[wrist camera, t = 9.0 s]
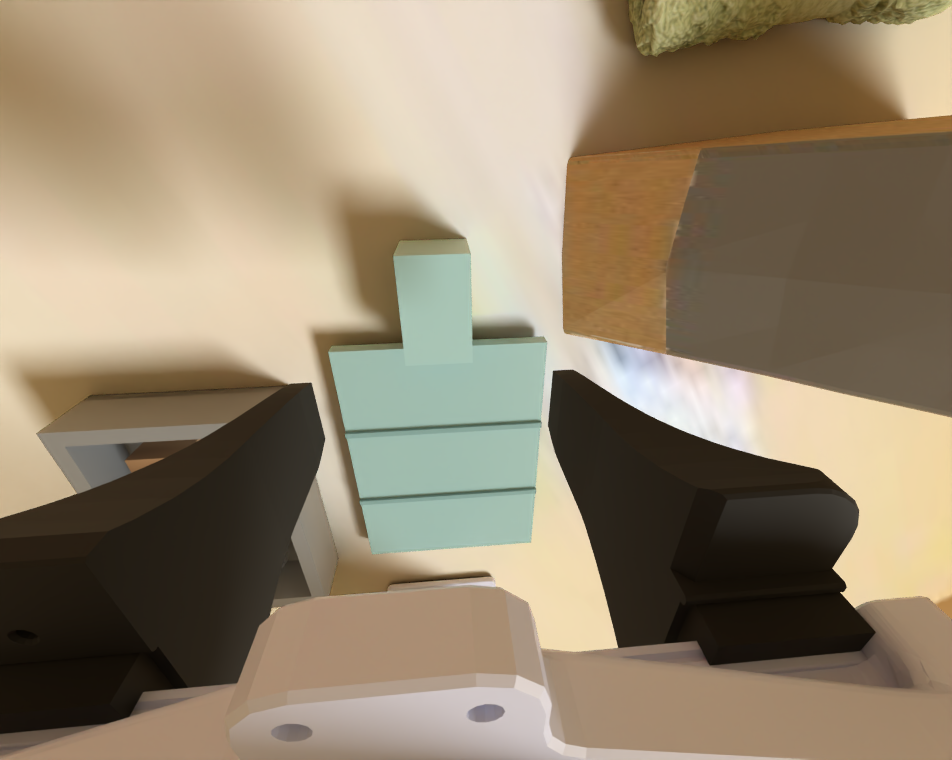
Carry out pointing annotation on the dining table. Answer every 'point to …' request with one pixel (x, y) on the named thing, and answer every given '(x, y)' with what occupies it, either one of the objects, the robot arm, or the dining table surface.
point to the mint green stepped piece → (442, 415)
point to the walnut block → (155, 452)
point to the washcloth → (756, 18)
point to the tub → (184, 418)
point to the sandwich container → (775, 255)
